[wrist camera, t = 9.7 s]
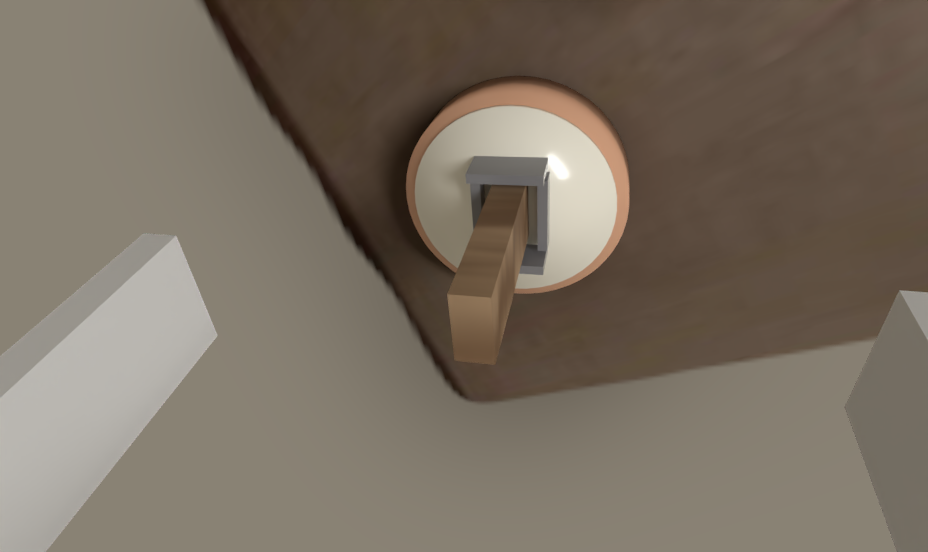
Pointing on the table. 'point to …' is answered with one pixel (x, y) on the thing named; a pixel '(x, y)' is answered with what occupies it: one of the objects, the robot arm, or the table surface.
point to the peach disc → (523, 176)
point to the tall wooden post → (489, 275)
